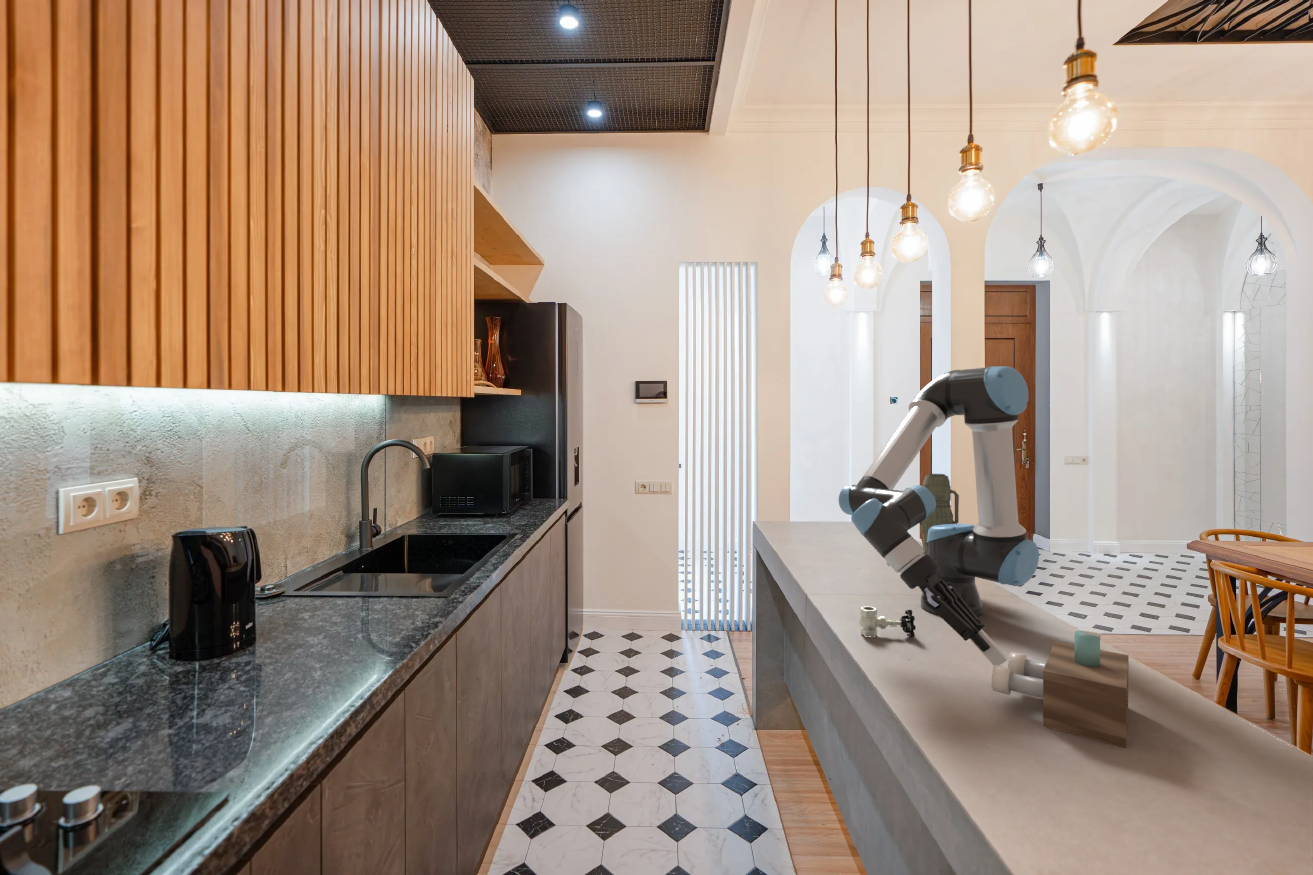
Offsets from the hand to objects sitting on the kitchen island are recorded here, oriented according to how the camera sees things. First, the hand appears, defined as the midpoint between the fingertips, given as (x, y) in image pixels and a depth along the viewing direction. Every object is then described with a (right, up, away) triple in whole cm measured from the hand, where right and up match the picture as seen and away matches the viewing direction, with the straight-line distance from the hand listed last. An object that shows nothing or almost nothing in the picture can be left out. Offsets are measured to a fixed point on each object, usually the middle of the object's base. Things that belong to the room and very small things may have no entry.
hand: (1002, 662), depth 114 cm
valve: (-11, -5, +29) cm, 31 cm away
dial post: (+8, +4, -11) cm, 15 cm away
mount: (+8, -5, -11) cm, 15 cm away
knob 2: (0, -3, -10) cm, 10 cm away
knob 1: (+7, -3, -4) cm, 8 cm away
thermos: (+19, -3, +67) cm, 69 cm away
